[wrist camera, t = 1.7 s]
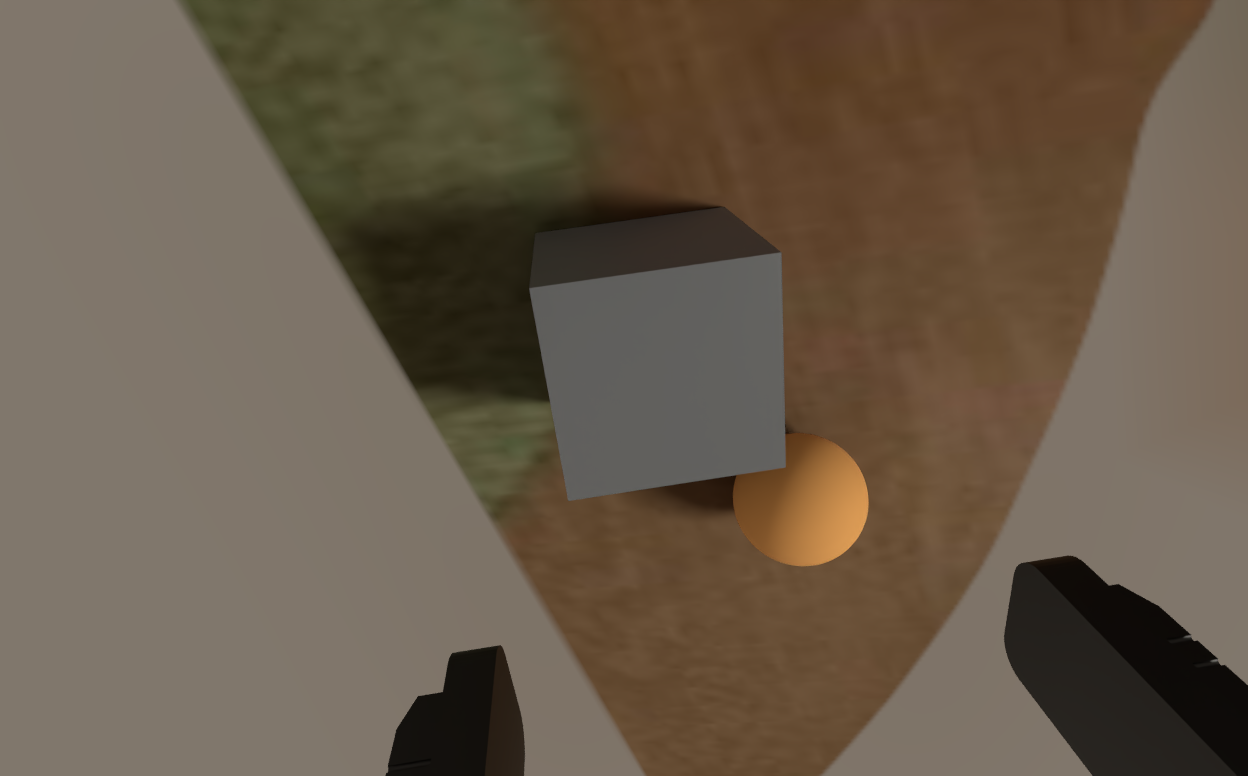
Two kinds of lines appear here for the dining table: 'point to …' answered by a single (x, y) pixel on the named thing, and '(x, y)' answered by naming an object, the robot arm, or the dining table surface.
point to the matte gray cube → (661, 350)
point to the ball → (803, 503)
